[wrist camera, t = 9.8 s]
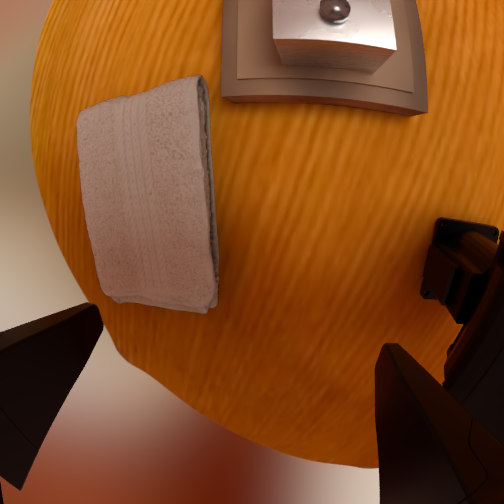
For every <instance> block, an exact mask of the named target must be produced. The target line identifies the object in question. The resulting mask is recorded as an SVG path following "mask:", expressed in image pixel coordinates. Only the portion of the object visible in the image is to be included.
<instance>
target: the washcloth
mask: <svg viewBox="0 0 504 504" xmlns="http://www.w3.org/2000/svg"><path fill="white" fill-rule="evenodd" d="M77 144H78V147H77V148H78V155H79V160H80V163H79V168H80V178H81V191H82V204H83V205H84V209H85V219H86V223H87V230H88V233H89V238H90V241H91V247H92V252H93V255H94V259H95V265H96V270H97V271H96V272H97V274H98V275H97V276H98V279H99V280H100V286H101V289H102V290H103V292H104V293H105V295H106V296H110V297H111V298H112V299H113V300H114V301H115V302H117V303H119V304H122V303H125V302H131V303H140V304H144V305H151V306H157V307H162V308H168V309H173V310H180V311H190V312H199V313H202V314H206V313H208V309H209V308H214V307H216V306H217V304H218V293H217V291H218V288H217V287H218V284H219V276H218V275H217V274H218V273H219V269H218V264H219V250H218V233H217V223H216V211H215V195H214V181H213V166H212V154H211V137H210V104H209V94H208V87H207V84H206V81H205V79H204V78H203V76H202V75H199V76H196V77H195V76H188V77H187V78H181V79H178V80H173V81H171V82H167V83H165V84H162V85H160V86H159V87H154V88H153V89H151V90H150V91H147V92H143V93H139V94H136V95H132V96H131V97H125V96H120V97H116V98H113V99H109V100H107V101H104V102H101V103H98V104H96V105H94V106H91V107H89V108H86V109H85V110H82V112H81V113H80V114H79V117H78V120H77Z"/></svg>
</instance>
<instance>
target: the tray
mask: <svg viewBox="0 0 504 504" xmlns="http://www.w3.org/2000/svg"><path fill="white" fill-rule="evenodd" d="M390 5H391V10H392V17H393V23H394V31H395V39H396V48H397V50H396V51H395V52H394V53H393V55H392V56H391V57H390V58H389V59H388V60H387V61H386V62H385V63H384V64H383V65H382V66H381V67H380V68H379V69H378V70H377V71H376V72H375V73H374V74H373V73H367V72H359V71H351V70H342V69H332V68H318V67H295V66H283V64H282V61H281V58H280V56H279V53H278V50H277V48H276V45H275V42H274V40H273V6H272V0H223V20H222V56H221V97H223V98H225V99H227V100H229V101H231V102H233V103H251V102H287V103H312V104H326V105H338V106H348V107H356V108H364V109H372V110H378V111H385V112H390V113H396V114H402V115H407V116H415V115H420V114H424V113H428V99H427V77H426V64H425V54H424V46H423V38H422V31H421V25H420V19H419V14H418V9H417V4H416V0H390Z"/></svg>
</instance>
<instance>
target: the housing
mask: <svg viewBox="0 0 504 504" xmlns="http://www.w3.org/2000/svg"><path fill="white" fill-rule="evenodd" d="M272 6H273V40H274V42H275V45H276V48H277V50H278V53H279V56H280V58H281V61H282V64H283V66H295V67H318V68H332V69H342V70H351V71H359V72H367V73H373V74H374V73H375V72H376V71H377V70H378V69H379V68H380V67H381V66H382V65H383V64H384V63H385V62H386V61H387V60H388V59H389V58H390V57H391V56H392V55H393V53H394V52H395V51H396V50H397V48H396V39H395V31H394V23H393V17H392V10H391V5H390V0H272Z"/></svg>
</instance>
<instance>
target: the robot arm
mask: <svg viewBox="0 0 504 504" xmlns="http://www.w3.org/2000/svg"><path fill="white" fill-rule="evenodd" d="M443 222H444V226H443V227H441V224H442V223H443ZM494 231H495V232H494ZM493 232H494V234H493ZM498 236H499V230H498V228H496V227H495V226H491V225H485V224H480V223H474V222H468V221H462V220H455V219H449V218H439V219H438V220H437V222H436V226H435V231H434V236H433V241H432V245H431V246H430V247H429V252H428V256H427V260H426V264H425V268H424V272H423V278H424V279H423V283H422V286H421V290H420V294H421V296H422V297H423V298H424V299H438V300H439V301H440V303H441V305H443V306H446V308H447V309H448V311H449V312H450V314H451V315H452V317H453V319H454V320H455V322H456V323H457V324H463V327H462V329H461V330H460V332H459V334H458V336H457V337H456V339H455V341H454V343H453V344H451V345H450V347H449V348H448V350H447V360H446V362H445V365H444V377H445V380H444V382H443V383H442V385H443V386H442V385H441V384H440V383H438V382H437V381H436V380H435V379H434V378H433V377H432V376H431V375H430V374H429V373H428V372H427V371H426V370H425V369H424V368H423V367H422V366H421V365H420V364H419V363H418V362H417V361H416V360H415V359H414V358H413V357H412V356H411V355H410V354H409V353H408V352H407V351H405V350H404V349H403V348H402V347H401V346H400V345H399V344H397V343H385V344H384V345H383V346H382V349H381V351H380V354H379V357H378V360H377V362H376V365H375V422H376V433H377V445H378V460H379V482H380V504H504V231H501V234H500V237H499V239H500V242H499V245H498V244H497V240H498ZM426 291H428V292H427V293H426V294H424V293H425V292H426ZM103 327H104V326H103V321H102V318H101V315H100V312H99V308H98V307H97V305H95V304H92V303H88V302H86V303H83V304H80V305H78V306H74V307H72V308H69V309H66V310H63V311H60V312H57V313H54V314H51V315H48V316H46V317H43V318H40V319H37V320H34V321H31V322H28V323H25V324H23V325H20V326H17V327H14V328H11V329H8V330H6V331H3V332H0V476H1V477H2V478H3V479H5V480H6V481H7V482H9V483H10V484H12V485H13V486H14V487H16V488H17V489H18V490H21V489H22V487H23V485H24V483H25V480H26V478H27V476H28V473H29V471H30V469H31V467H32V464H33V462H34V460H35V458H36V456H37V454H38V452H39V449H40V447H41V445H42V443H43V441H44V438H45V437H46V435H47V433H48V431H49V429H50V427H51V425H52V423H53V421H54V419H55V417H56V416H57V414H58V412H59V410H60V408H61V406H62V405H63V403H64V401H65V399H66V397H67V396H68V394H69V392H70V390H71V388H72V387H73V385H74V383H75V382H76V380H77V378H78V377H79V375H80V373H81V371H82V370H83V368H84V367H85V364H86V363H87V361H88V359H89V357H90V355H91V353H92V351H93V349H94V347H95V345H96V343H97V341H98V339H99V337H100V335H101V333H102V331H103ZM0 504H4V503H3V497H2V491H1V483H0Z"/></svg>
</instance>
